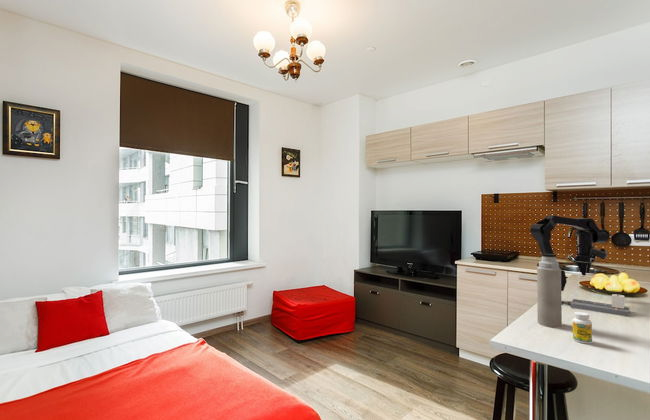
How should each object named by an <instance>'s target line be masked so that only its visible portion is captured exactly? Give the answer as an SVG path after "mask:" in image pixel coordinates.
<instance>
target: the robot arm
mask: <svg viewBox="0 0 650 420" xmlns="http://www.w3.org/2000/svg"><path fill="white" fill-rule="evenodd" d="M557 225H561V226H562V225H563V226H569V227H573V229H574V228H575V229H576V231H574V232H573V233H574V235H577V240H578V241H577V248H578V250H577V251H578V252H577V254H576V255H575V256H574V258H573V259H574V262H575V264H576V265H577V268H578V269H579V271H580V273H581V275H582V276H586V275H587V274H589V273H590V271H591V266H592V263H594V262H595V261H596V260H597V258H599V259H601V260H606V259H607V256H608V254H609V253H608V251H606V248H603V247H602V248H599V249H598V248H596V247H595V245H594V244H602V243H603V244H604V243H605V244H606V243H607V242H609V237H610V236H609V235H608V233H607V232H605V229H603V228H599V226H598V224H597V223H596V222H595V220H594V218H592V217H590V218H587V217H585V218H583V217H578V218H577V217H576V218H571V217H568V216H567V217H566V216H558V215H552V214H551V215H547V216H545V217H544V218H543V219H541V220H539V221H537V222H535V223H534V224H532V225H530V228H529V232H530V234H531V236H532V237H533V239H534V240H535V241H536V242H537V243H538V247H539V251H540V253H541V254H554V250H553V248H552V244H551V242H550V241H551V237H552V231H553V230H555V227H556V226H557ZM567 279H568V278H567V276H566V271H565V270H562V269H561V292H564V291H565V287H566V284H567V281H568V280H567ZM563 303H564V301H562V300H561V304H563Z"/></svg>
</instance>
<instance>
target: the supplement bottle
mask: <svg viewBox="0 0 650 420" xmlns="http://www.w3.org/2000/svg"><path fill="white" fill-rule="evenodd" d="M592 323H593V322H592V321H591V319H590V313H588V312H583V311H575V312H574V318H572V340H573V341H575V342H576V343H580V344H584V345H585V344H587V345H588V344H592V343H593V324H592Z"/></svg>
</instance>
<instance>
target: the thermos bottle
mask: <svg viewBox="0 0 650 420" xmlns="http://www.w3.org/2000/svg"><path fill="white" fill-rule="evenodd" d="M556 257H557V254H541V260H539V262H538V266H536V278H537V280H536V286H537V287H536V288H537V289H536V291H537V292H536V293H537V297H536V299H537V300H536V301H537V304H536V306H537V323H538V324H539V325H540V326H543V327H547V328H553V329H554V328H555V329H556V328H562V325H563V324H562V323H563V321H562V319H563V318H562V316H563V315H562V313H563V312H562V303H561V301H562V291H561V270H562V268H560V264H559V263H560V262H558V261H557V258H556Z"/></svg>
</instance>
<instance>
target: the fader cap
mask: <svg viewBox="0 0 650 420" xmlns="http://www.w3.org/2000/svg"><path fill="white" fill-rule="evenodd" d="M611 304H612V307H616V308H622V309H624V306H625V295H622V294H618V293H617V294H616V293H615V294H614V293H612V294H611Z"/></svg>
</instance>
